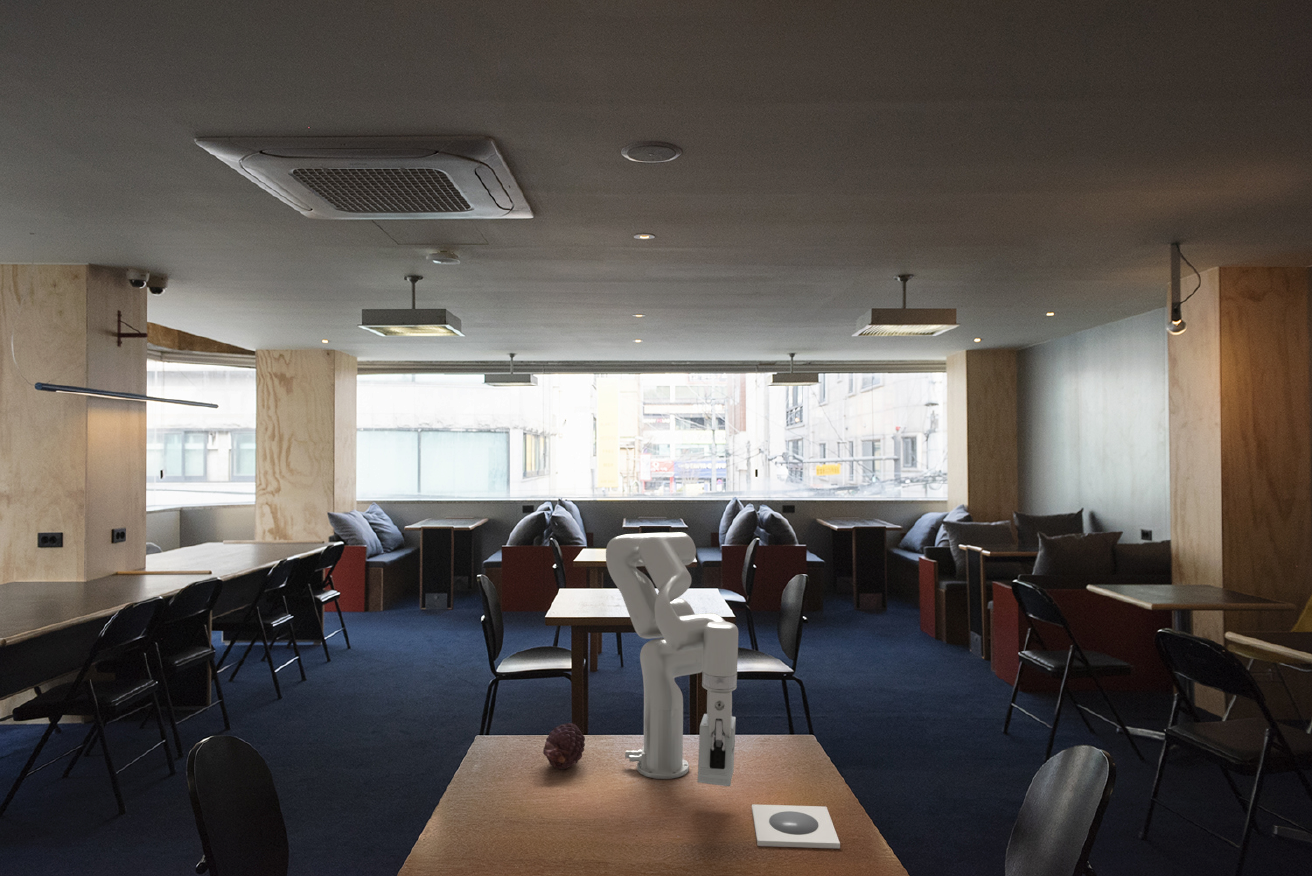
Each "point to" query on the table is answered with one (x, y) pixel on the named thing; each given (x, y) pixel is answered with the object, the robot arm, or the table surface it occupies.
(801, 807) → the mat
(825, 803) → the table surface
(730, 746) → the supplement box
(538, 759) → the table surface
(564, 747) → the pine cone
